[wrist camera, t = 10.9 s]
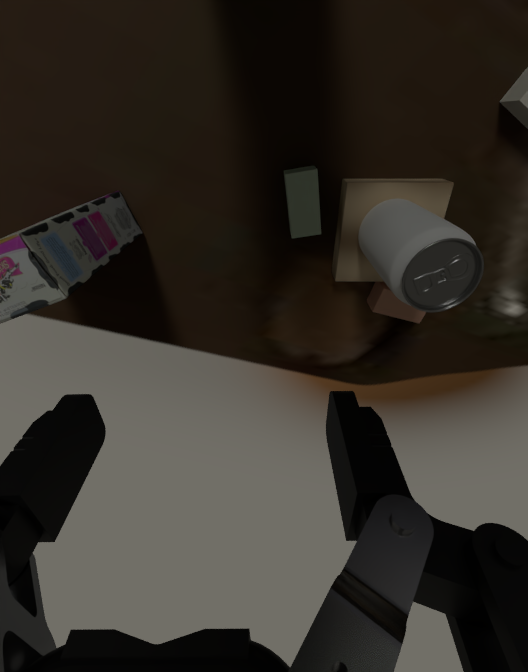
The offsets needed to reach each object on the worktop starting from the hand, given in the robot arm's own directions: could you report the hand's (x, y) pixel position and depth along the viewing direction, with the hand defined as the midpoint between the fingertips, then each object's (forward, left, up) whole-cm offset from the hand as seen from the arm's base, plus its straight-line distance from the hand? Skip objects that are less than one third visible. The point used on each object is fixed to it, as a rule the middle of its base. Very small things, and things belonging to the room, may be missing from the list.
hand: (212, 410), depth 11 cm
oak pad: (+2, +15, -29) cm, 32 cm away
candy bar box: (+2, -17, -29) cm, 34 cm away
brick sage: (-1, +6, -29) cm, 29 cm away
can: (+1, +14, -26) cm, 30 cm away
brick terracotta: (+10, +18, -29) cm, 35 cm away
